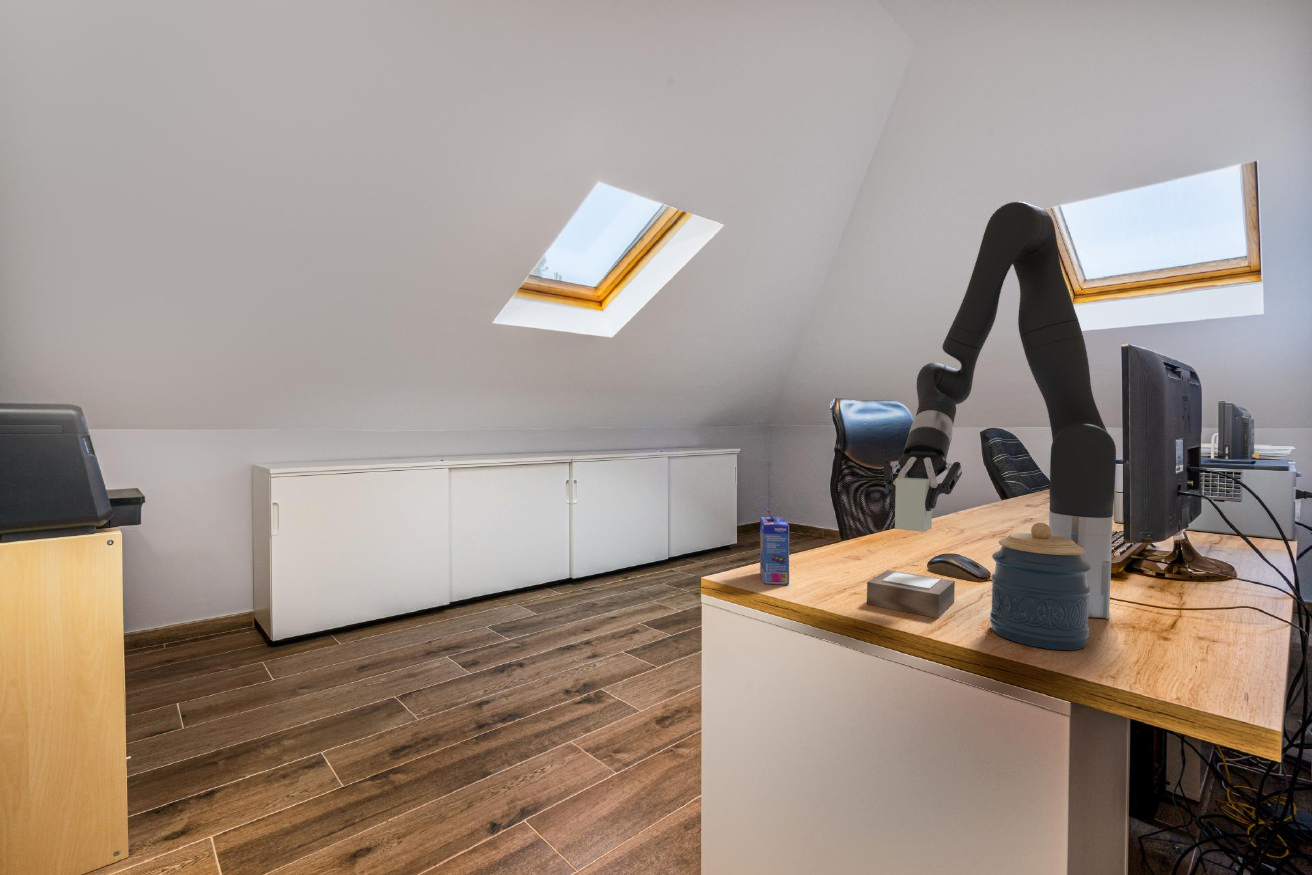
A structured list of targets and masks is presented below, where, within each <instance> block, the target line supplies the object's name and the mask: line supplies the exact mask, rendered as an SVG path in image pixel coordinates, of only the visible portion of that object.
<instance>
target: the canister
mask: <svg viewBox="0 0 1312 875" xmlns="http://www.w3.org/2000/svg"><path fill="white" fill-rule="evenodd" d="M1030 532H1031V533H1030ZM1030 532H1029V533H1028V532H1013V533H1010V534H1008V535H1007V536H1006V537H1003V538H1000V539H999V540H998V544H999V545H1000V546H1001V547H1000V549H999V550H998V551H995V552H993V553H992V555H991V557H992V559H993V560H994V562H995V568H994V572H993V573H992V574H991V576H990V577H991V578H990V579H991V580H992V581H991V582H992V583H991V584H992V586H991V587H992V590H991V610H990V612H989V616H990V617H989V621H990V623H991V624H990V626H991V630H992V631H993V632H994V633H996V634H997V635H998V636H1001V637H1002V638H1005V639H1007V640H1010V641H1013V642H1014V643H1015V642H1016V643H1019V644H1023V645H1026V646H1031V647H1035V648H1042V649H1047V650H1057V651H1058V650H1059V651H1074V650H1080V649H1083V648H1085V647H1087V644H1088V640H1089V639H1090V638H1089V637H1090V628H1089V617H1088V613H1089V593H1090V592H1091V588H1090V587H1089V586H1088V585H1087V573H1088V572H1089V571H1090V570H1091V569H1092V567H1091V565H1090V564H1089V563H1087V562H1086V561H1084V560H1083V558H1082V556H1081V554H1084V553H1085V549H1084V548H1082V547H1080V546H1079V545H1077V544H1076V543H1075V542H1074V541H1073V540H1071V539H1068V538H1064V537H1059V536H1052V535H1051V529H1050V527H1049V524H1047V523H1044V522H1036V523H1034V524H1033V525H1032V527H1031V529H1030Z"/></svg>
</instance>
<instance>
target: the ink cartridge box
mask: <svg viewBox="0 0 1312 875" xmlns="http://www.w3.org/2000/svg"><path fill="white" fill-rule="evenodd" d="M765 509H766V511H767V513H768V515H769V516H760V518H759V521H760V528H759V529H760V531H759V536H760V537H759V538H760V539H759V540H760V541H759V542H760V543H759V550H760V551H759V560H760V561H759V569H760V570H759V571H760V577H761V581H762V584H764V585H767V584H768V585H769V584H770V585H783V586H788V585H790V524H789V522H787V520H786V519H785V518H784V517H777V516H775V517H774V516H773V515H772V514H771V512H770V510H769V509H768V507H767V508H765Z"/></svg>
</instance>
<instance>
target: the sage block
mask: <svg viewBox="0 0 1312 875" xmlns="http://www.w3.org/2000/svg"><path fill="white" fill-rule="evenodd" d="M895 479H896V478H895ZM930 487H931V486H930V479H922V478H899V479H896V498H895V508H894V509H895V510H894V512H895V513H894V514H895V516H894V529H895V530H901V531H902V530H903V531H911V532H921V533H925V532H928V531H930V530H931V529H932V522H933V520H932V518H933V516H932V514H933V509H932V508H931V511H926V507H925V501H926V497H927V493H928V489H929V488H930Z"/></svg>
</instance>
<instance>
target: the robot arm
mask: <svg viewBox="0 0 1312 875" xmlns="http://www.w3.org/2000/svg"><path fill="white" fill-rule="evenodd" d="M978 250H979V251H978V254H977V256H976V261H975V264H974V266H973V270H972V274H971V276H970V279H969V282H968V285H967V287H966V288H967V289H966V291H965V294H964V297H963V299H962V302H961V304H960V306H959V309H958V311H957V312H956V316H955V317H954V319H953V321H952V324H951V326H950V328H949V331H948V332H947V334H946V336H945V339H944V341H943V344H942V351H943V352H944V353H945V354H947V355H949V356H950V357H952V358H954V359H955V360H956V361H958V362H959V363H960V369H957V368H954V367H952V366H947V365H945V364H942V363H939V362H928V363H927V364H925V365H923V366H922V367H921V369H920V370H919V372H918V374H917V378H916V395H917V401H918V402H917V403H918V407H917V410H916V414H915V417H914V420H913V421H912V424H911V426H910V429H909V432H908V436H907V439H906V442H905V446H904V449H903V453H902V456H901V457H900V458H899V459H898V460H895V461H894V460H893V461H891V460H890V459H889V458H885V459H884V460H883V462H882V463H883V482H884V485H885V488H886V490H887V491H890V496H889V501H890V504H891V506H892V507H893V509H895V498H896V479H899V478H922V479H930V486H931V487H930V488H929V489H928V493H927V497H926V501H925V507H926V511H931V508H932V510H933V509H935V508H936V506H937V502H938V497H939V496H940V495H942V494H944V495H950V494H951V493H952V491H953V490H954V488H955V487H956V485H957V483H958V482H959V480H960V478H961V476H962V475H963V470H962V465H961V462H959V461H954V462H953V463H950V462H947V457H948V453H949V449H950V445H951V443H952V437H953V427H954V424H955V419H956V415H957V406H956V405H960V404H962V403H964V402H965V401H966V400H968V398H969V396H970V394H971V392H972V388H973V382H974V381H973V380H974V374H975V370H976V365H977V361H978V358H979V355H980V353H981V351H982V349H983V347H984V344H985V343H986V340H987V338H988V337H989V335H990V333H991V331H992V329H993V327H994V323H995V320H996V316H997V313H998V312H997V311H998V307H999V302H1000V296H1001V293H1002V289H1003V285H1004V282H1005V279H1006V277H1007V275H1008V273H1009V271H1010V269H1011V267H1012V265H1013V268H1014V272H1015V274H1016V277H1017V281H1018V285H1019V286H1018V287H1019V307H1018V319H1017V320H1018V321H1017V324H1018V325H1017V326H1018V333H1019V336H1020V337H1019V338H1020V340H1021V344H1022V348H1023V351H1024V355H1025V357H1026V361H1027V364H1028V367H1029V369H1030V371H1031V374H1032V377H1033V379H1034V381H1035V383H1036V384H1037V387H1038V389H1039V392H1040V394H1041V396H1042V398H1043V400H1044V402H1045V406H1046V410H1047V414H1048V420H1049V424H1050V430H1051V439H1052V443H1051V446H1050V447H1051V448H1050V462H1049V463H1050V464H1049V493H1048V494H1049V511H1048V514H1049V515H1048V519H1049V520H1048V526H1049V527H1050V529H1051V535H1052V536H1059V537H1064V538H1068V539H1071V540H1073V541H1074V542H1075V543H1076V544H1077V545H1079V546H1080V547H1082V548H1084V549H1085V553H1084V554H1081V556H1082V558H1083V560H1084V561H1086V562H1087V563H1089V564H1090V565H1091V567H1092V569H1091V570H1090V571H1089V572H1088V573H1087V585H1088V586H1089V587H1090V588H1091V592H1090V593H1089V613H1088V618H1101V619H1110V606H1111V605H1110V602H1111V579H1112V578H1111V576H1112V574H1111V573H1112V544H1113V543H1112V542H1113V540H1112V539H1113V520H1114V519H1113V515H1114V506H1115V505H1114V503H1115V488H1116V487H1115V486H1116V484H1115V483H1116V465H1117V446H1116V443H1115V441H1114V438H1113V437H1112V436H1111V434H1109V432H1108V430H1107V427H1106V426H1105V424H1104V422H1103V418H1102V417H1101V414H1100V411H1099V409H1098V407H1097V404H1096V402H1095V398H1094V395H1093V391H1092V384H1091V375H1090V374H1091V373H1090V363H1089V358H1088V352H1087V348H1086V347H1087V346H1086V342H1085V338H1084V334H1083V331H1082V327H1081V325H1080V324H1081V323H1080V321H1079V318H1078V316H1077V312H1076V310H1075V307H1074V302H1073V299H1072V296H1071V293H1070V290H1069V288H1068V284H1067V282H1066V280H1065V276H1064V273H1063V269H1062V264H1061V260H1060V253H1059V246H1058V239H1057V233H1056V227H1055V223H1054V220H1053V218H1052V216H1051V215H1050V213H1049V212H1048V211H1046V209H1044V208H1041V207H1039V206H1035V205H1033V204H1030V203H1027V202H1024V201H1012V202H1007V203H1005V204H1003V205H1002V206H1000V207H999V208H997V209H996V211H994V212H993V213H992V214H991V217H989V220H988V222H987V224H986V227H985V230H984V232H983V236H982V239H981V244H980V248H979V249H978ZM898 469H900V471H899V472H898V475H897V477H896V478H895V479H893V478H894V475H893V474H896V472H897V470H898ZM945 471H946V475H945V476H944V479H943V480H942V481H941V483H938V481H937V478H938V476H940V475H941V474H943V473H944V472H945Z"/></svg>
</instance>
